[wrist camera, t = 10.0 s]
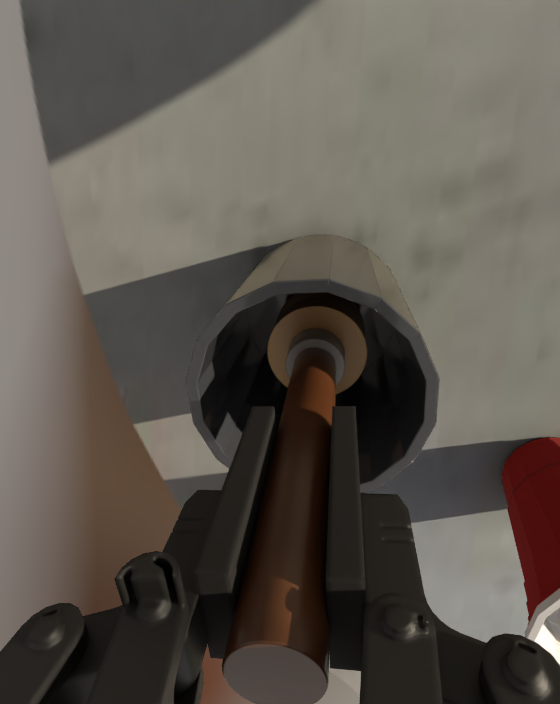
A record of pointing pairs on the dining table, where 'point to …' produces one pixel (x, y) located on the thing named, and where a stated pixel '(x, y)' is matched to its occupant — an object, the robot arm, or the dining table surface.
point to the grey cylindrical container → (366, 393)
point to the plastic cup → (537, 533)
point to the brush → (295, 510)
